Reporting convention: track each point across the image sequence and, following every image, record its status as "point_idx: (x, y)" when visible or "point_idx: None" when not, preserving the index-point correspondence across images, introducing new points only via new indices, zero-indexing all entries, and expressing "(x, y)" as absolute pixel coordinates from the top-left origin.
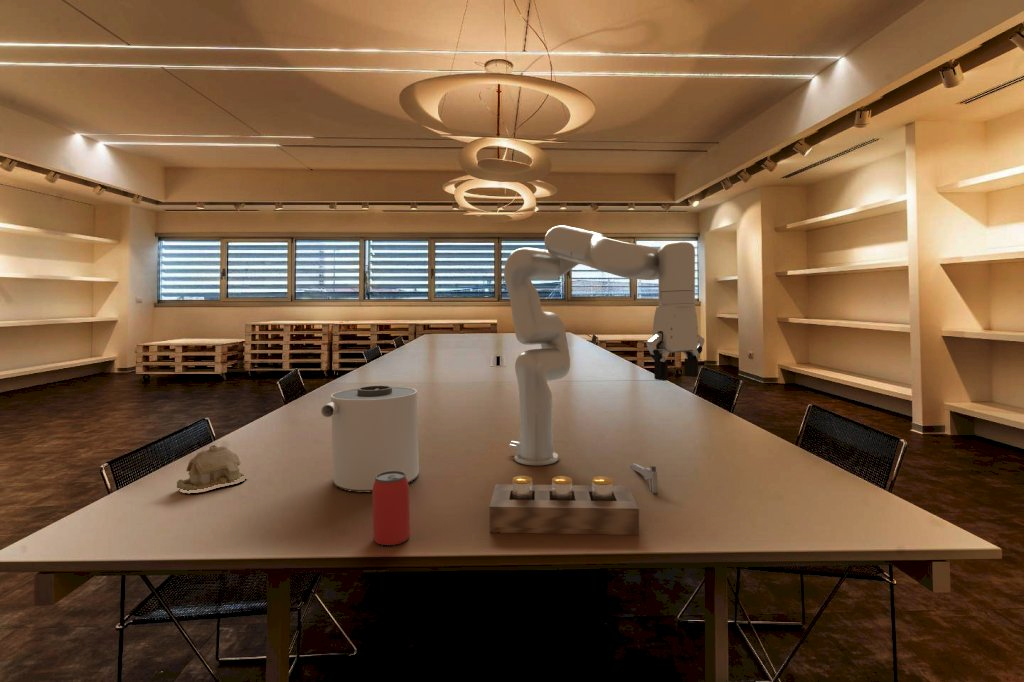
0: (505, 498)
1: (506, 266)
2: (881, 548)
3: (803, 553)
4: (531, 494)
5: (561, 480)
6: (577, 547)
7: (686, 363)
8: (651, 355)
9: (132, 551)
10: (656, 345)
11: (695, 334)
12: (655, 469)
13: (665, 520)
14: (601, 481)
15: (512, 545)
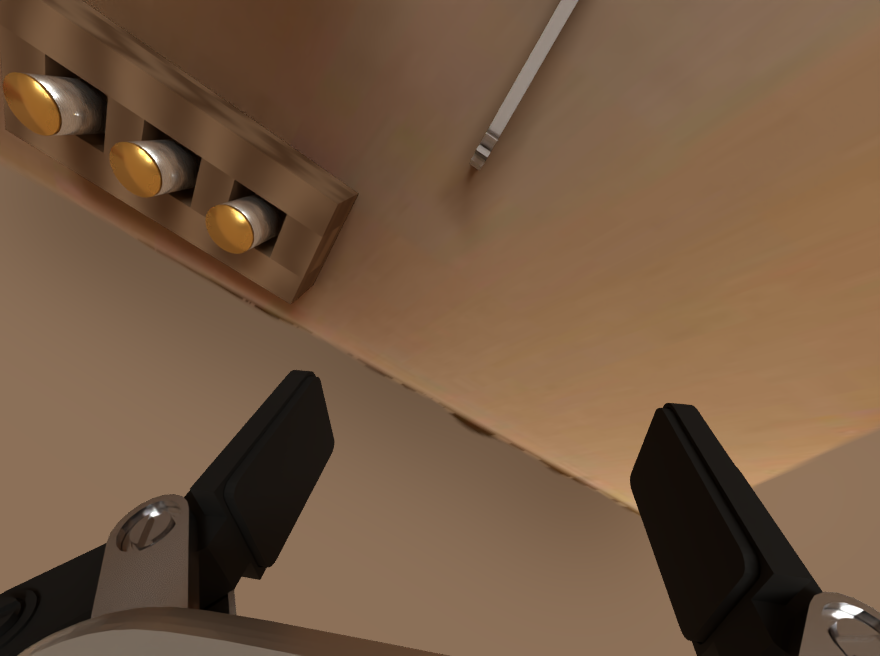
0: None
1: None
2: (565, 468)
3: (471, 426)
4: (92, 130)
5: (132, 176)
6: (206, 260)
7: (708, 524)
8: (51, 580)
9: None
10: None
11: None
12: (485, 158)
13: (389, 273)
14: (222, 238)
15: (107, 198)
